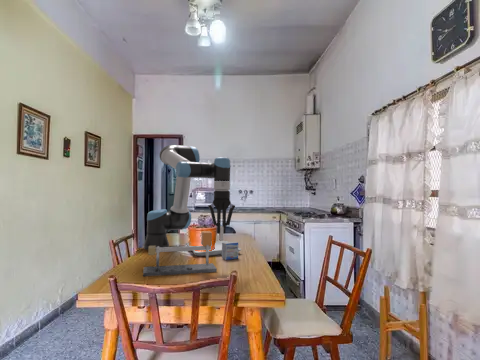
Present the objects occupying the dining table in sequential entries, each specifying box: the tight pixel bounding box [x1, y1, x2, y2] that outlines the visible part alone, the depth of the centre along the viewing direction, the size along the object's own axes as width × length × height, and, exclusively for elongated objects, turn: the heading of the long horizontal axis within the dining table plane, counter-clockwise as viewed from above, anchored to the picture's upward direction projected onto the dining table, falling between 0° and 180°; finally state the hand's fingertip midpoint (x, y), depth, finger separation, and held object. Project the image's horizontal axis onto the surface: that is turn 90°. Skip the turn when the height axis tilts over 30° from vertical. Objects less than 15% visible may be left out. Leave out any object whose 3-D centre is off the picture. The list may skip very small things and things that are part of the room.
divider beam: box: [147, 245, 211, 269], centre depth 144 cm, size 6×28×10 cm, turn 105°
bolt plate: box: [142, 262, 218, 277], centre depth 145 cm, size 10×32×2 cm, turn 105°
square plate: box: [185, 240, 242, 257], centre depth 188 cm, size 27×27×4 cm
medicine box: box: [221, 241, 239, 261], centre depth 170 cm, size 8×4×9 cm, turn 123°
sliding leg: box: [200, 230, 213, 266], centre depth 148 cm, size 6×4×15 cm
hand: (221, 240), depth 150 cm, fingers closed
